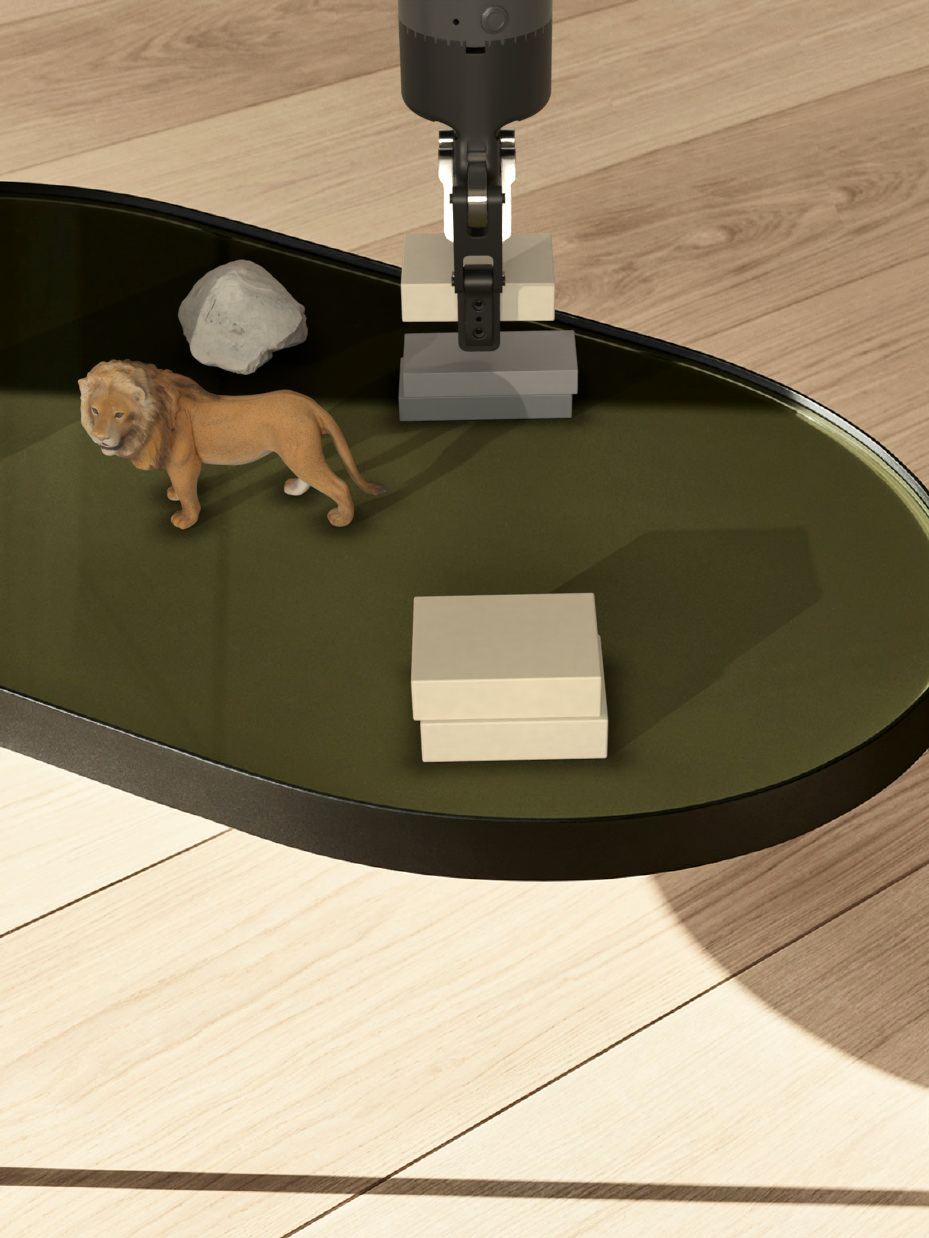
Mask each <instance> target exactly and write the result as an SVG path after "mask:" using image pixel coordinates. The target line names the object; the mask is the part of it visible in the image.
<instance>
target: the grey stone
mask: <svg viewBox="0 0 929 1238" xmlns="http://www.w3.org/2000/svg"><path fill="white" fill-rule="evenodd" d="M305 311H306V308H305V306H304V305H303V304H301V303H299V302H298V301H297V300H296V299H295V298H294V297H293V295H291V293H289V291H287V289H286V288H285V286H284V285H283V284H282V283H280V282H279V281H278V279H276V278H275V277H273V275H272V274H271V272H269V271H267V270H266V269H265V268H264V267H263V266H261V265H259V264H257V263H255V262H253V261H251V260H246V259H236V260H235V261H229V262H228V263H225V264H222V265H219V266H217V267H215V268H214V269H212V270H209V271H208V272H206V273H205V274H204V276H202V277H201V278H200V279H198V280H197V282H195V283H194V285H193V286H192V288H191V290H190V291H189V293H188V294H187V295H186V297H185V298H184V299H183V300H182V301H181V304H180V306H179V308H178V313H177V317H178V321H179V323H180V325H181V327H182V331H183V336H184V337H185V338H186V341H187V343H188V344H189V349H190V353H191V356H192V357H193V358H194V359H195V360H197V361H198V362H199V363H201V364H202V365H205V366H208V367H217V368H220V369H222V370H224V371H226V372H232V373H236V374H237V375H239V374H240V375H250V374H252V373H255V372H256V371H257V369H259V368H260V367H262V366H263V365H265V364H266V363H268V362H269V361H270V360H271V359H272V358H273V353H274V352H278V351H281V350H283V349H288V348H292V347H296V346H299V345H301V344H303V343H304V342H305V341H306V340H307V337H308V326H307V322H306V321H307V317H306V314H305Z"/></svg>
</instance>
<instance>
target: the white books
mask: <svg viewBox="0 0 929 1238" xmlns="http://www.w3.org/2000/svg"><path fill="white" fill-rule="evenodd" d="M596 608H597V607H596V598H595V593H594V592H571V593H568V592H567V593H525V594H522V593H521V594H520V593H519V594H518V593H517V594H477V595H429V596H423V595H422V596H414V598H413V613H412V614H413V617H412V639H411V640H412V641H411V642H412V643H411V669H410V670H411V671H410V673H411V675H410V688H411V690H410V691H411V703H412V704H411V706H412V719H413V721H420V723H419V724H420V725H419V728H420V743H421V744H420V745H421V760H422V762H423V763H436V762H437V763H438V762H439V763H440V762H441V763H444V762H445V763H446V762H485V761H486V762H487V761H488V762H489V761H491V762H492V761H531V760H533V761H534V760H536V761H537V760H573V759H574V760H577V759H579V760H582V759H606V758H607V757H608V742H609V739H608V738H609V713H608V704H607V703H608V702H607V693H606V692H607V691H606V683H605V672H604V661H603V650H602V639H601V635H600V634H599V632H598V631H599V630H598V621H597V619H598V618H597V610H596Z"/></svg>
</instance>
